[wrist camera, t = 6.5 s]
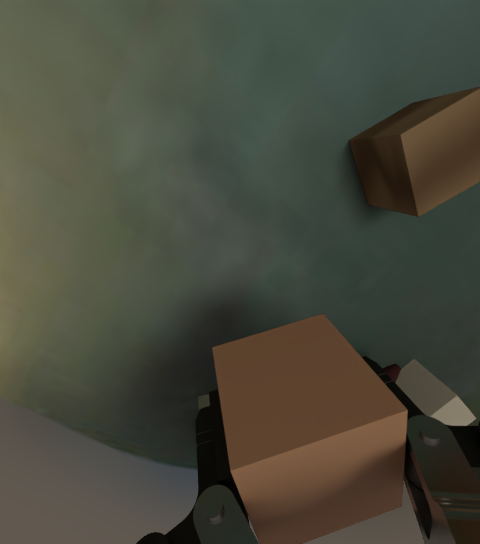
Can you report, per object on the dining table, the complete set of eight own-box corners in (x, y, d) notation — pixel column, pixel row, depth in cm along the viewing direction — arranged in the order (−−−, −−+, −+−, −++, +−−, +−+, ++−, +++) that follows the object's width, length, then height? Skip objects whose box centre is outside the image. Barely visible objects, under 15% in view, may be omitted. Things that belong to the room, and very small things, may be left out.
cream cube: (376, 388, 29) (412, 430, 25) (413, 358, 29) (457, 395, 24) (397, 408, 31) (434, 450, 27) (432, 380, 31) (476, 418, 26)
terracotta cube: (212, 347, 12) (230, 470, 7) (323, 313, 12) (407, 410, 7) (237, 424, 14) (264, 557, 9) (331, 393, 14) (401, 506, 10)
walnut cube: (348, 140, 19) (400, 134, 14) (411, 103, 19) (484, 85, 14) (367, 204, 21) (418, 217, 17) (424, 171, 21) (492, 174, 16)
